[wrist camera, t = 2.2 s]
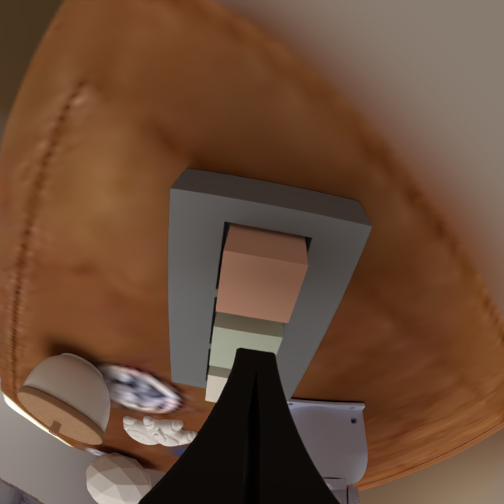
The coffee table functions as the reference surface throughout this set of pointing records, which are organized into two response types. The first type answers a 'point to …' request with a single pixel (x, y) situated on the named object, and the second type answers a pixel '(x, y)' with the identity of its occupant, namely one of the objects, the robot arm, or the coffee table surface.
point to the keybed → (211, 254)
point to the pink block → (261, 273)
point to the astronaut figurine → (158, 431)
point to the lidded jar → (68, 397)
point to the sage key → (242, 337)
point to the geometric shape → (117, 479)
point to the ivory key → (216, 382)
